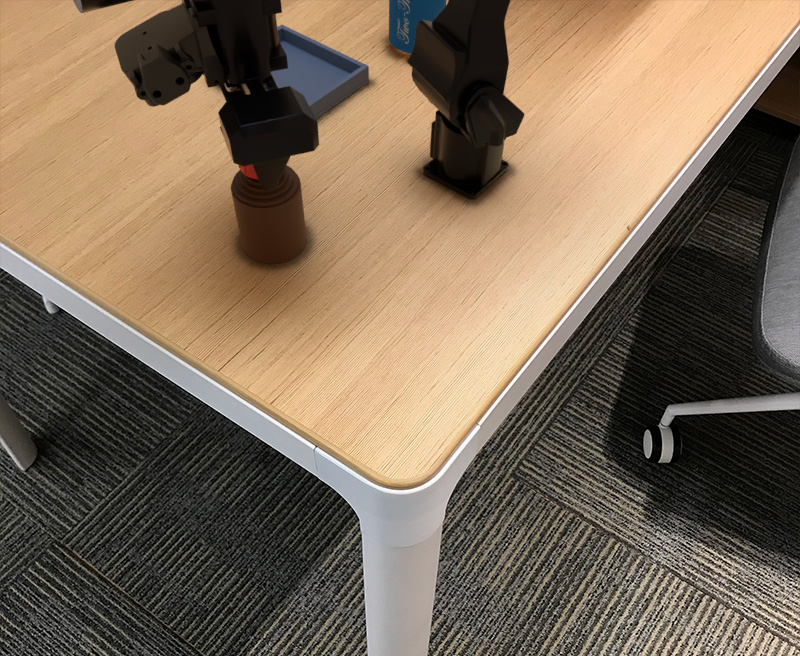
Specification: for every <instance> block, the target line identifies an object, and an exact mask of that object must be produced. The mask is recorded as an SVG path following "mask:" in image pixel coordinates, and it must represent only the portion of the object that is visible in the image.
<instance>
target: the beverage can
mask: <svg viewBox="0 0 800 656" xmlns="http://www.w3.org/2000/svg"><path fill="white" fill-rule="evenodd" d="M446 5H447V0H388V42H389V43H390V45H391V46H392V47H393V48H394V49H396V50H397V52H399V53H400V54H402V55H405V56H407V57H410V55H411V54H412V51H413V48H414V45H415V38H416V27H417V25H418V22H419V21H420V20H427V21H433V19H434V18H435V17H436V16H437V15H438V14H439V13H440V12H441V11H442V10H443V8H444V7H445V6H446Z"/></svg>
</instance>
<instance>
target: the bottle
mask: <svg viewBox="0 0 800 656" xmlns="http://www.w3.org/2000/svg"><path fill="white" fill-rule="evenodd" d="M302 191H303V190H302V182H301V179H300V176H299V175H298V173H297V172H296V171H295V170H294V169H293V168H292V167H291V166H290V165H288V164H287V165H286V167H285V170H284V172H283V174H282V176H281V178H280V180H279V183H278V185H277V187H276V188H275V189H273V190H268V191H263V190H262V187H261V185H260V182H259V180H258V179H253V178H250V177H248V176H246V175H244V174H243V173H242V171H241V170H240V169H238V171H237V172H236V173H235V175H234V177H233V178H232V181H231V184H230V192H231V196H232V201H233V208H234V213H235V218H236V223H237V228H238V232H239V233H238V234H239V237H240V242H241V247H242V250H243V251H244V253H245V254H246V255H247V256H248V257H249V258H251V259H252V260H254V261H256V262H258V263H263V264H270V265H272V264H274V265H275V264H281V263H285V262H288V261H289V262H290V260H293V259H295V258H296V257H297V256H299V255H300V254H301V253H302V252H303V251H304V249H305V248H306V245H307V240H308V239H307V229H306V220H305V211H304V202H303V201H304V200H303V192H302Z"/></svg>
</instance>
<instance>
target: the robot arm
mask: <svg viewBox="0 0 800 656" xmlns="http://www.w3.org/2000/svg"><path fill="white" fill-rule="evenodd" d="M133 1H135V0H72V2H73V3H74V5H75V7H76V9H77V11H78V12H79V13H80V14H85V13H89V12H93V11H98V10H102V9H105V8H109V7H114V6H118V5H122V4H125V3H129V2H133ZM510 4H511V0H448V1H447V2H446V6H445V7H444V8H443V10H442V11H441V12H440V13H439V14H438V15H437V16H436V17H435V18H434V19H433V21H427V20H420V21H419V22H418V25H417V27H416V38H415V45H414V48H413V51H412V54H411V55H410V56H408V57H409V58H408V59H407V61H406V63H407V64H408V65H409V67H411V78H412V82H413V83H414V85H415V86H416V88H417V89H418V90H419V92H420V93H421V94H422V95H423V96H424V97H425V98H426V99H427V100H428V102H429V103H431V104H432V105H433V106H434V107H435V108H436V109H437V110H436V112H435V118H434V120H433V121H432V122H431V125H430V126H431V127H430V128H431V129H430V141H429V142H430V143H429V158H430V159H431V160H430V161H429V162H427V163H426V164H425V165H424V166H423V167H422V173H423V174H424V175H425V176H427V177H429V178H430V179H432V180H435V181H436V182H439V183H440V184H442V185H444V186H446V187H448V188H449V189H452V190H454V191H456V192H458V193H460V194H461V195H463V196H465V197H467V198H469V199H476V198H477V197H478V196H479V195H481V194H482V193H483V192H484V191H485V190H486V189H487V188H489V186H491V185H492V184H493V183H494V182H495V181H496V180H497V179H499V178H500V177H501V176H502V175H504V173H505V172H506V171H508V170H509V167H510V163H509V162H508V161H507V160H504V159H503V156H504V155H503V154H504V148H505V141H506V140H507V138H509V137H512V136H515V135H517V133H518V131H519V129H520V127H521V124H522V122H523V120H524V118H525V112H524V111H523V110H521V109H520V108H519V107H518V106H517V105H516V104H515V103H514V102H513V101H512V100H510V98H509V97H508V96H506V94H504V93H505V89H506V83H507V78H508V73H509V65H510V58H509V50H508V42H507V33H506V25H505V24H506V23H505V22H506V18H507V14H508V10H509V6H510ZM282 13H283V9H282V0H181V3H180V4H178V5H177V6H174V7H172V8H170V9H168V10H163V11H160V12H159V13H156V14H155V15H153V16H151V17H149V18H148V19H146V20H144V21H143V22H141V23H139V24H138V25H135V26H134V27H132V28H131V29H128V30H127V31H125V32H124V33H122V34H120V36H119V37H117V39H116V40H115V42H114V51H115V53H116V56H117V60H118V63H119V66H120V69H121V71H122V73H123V74H124V75H125V77H126V78H127V79H128V81H129V82H130V83H131V85H132V86H133V88H134V91H135V94H136V97H137V98H138V99H139V100H140V101H144V102H145V103H146V105H147V106H149V107H152V108H153V107H158V106H166V105H168V104H170V103H172V102H173V101H176V99H178V98H180V97H182V96H184V95H186V94H188V93H189V92H190V90H191V87H192V85H193V84H194V83H196V82H197V81H198V80H199V79H200V78H201V77H202V76H203V77H204V82H205V84H206V86H207V88H214V87H219V88H220V90H221V93H222V95H223V97H224V100H225V102H224V104H223V105H222V107H221V108H220V109H219V110H218V112H217V115H218V119H219V124H220V126H219V129H220V131H221V134H222V136H223V140H224V142H225V145H226V147H227V150H228V153H229V155H230V157H231V160H232V163H233V164H235V165H238V166H239V165H241V166H247V165H253V168H254V170H255V173H256V175H257V177H258V180H259V182H260V185H261V187H262V190H263V191H268V190H273V189H275V188H276V187H277V185H278V183H279V180H280V178H281V176H282V174H283V172H284V170H285V167H286V165H288V163H289V161H290V159H291V157H292V156H297V155H302V154H307V153H311V152H315V151H316V149H317V148H318V147H319V146H320V136H319V125H318V124H319V123H318V120H317V118H315V116H314V114H313V112H312V111H311V109H310V107H309V105H308V103H307V101H306V99H305V97H304V95H303V94H301V93H300V92H298V91H297V90H295V89H294V88H292V87H291V86H287V87H282V88H278V86H277V84H276V82H275V80H274V78H273V76H272V74H271V72H272V71H277V70H282V69H287V68H288V63H287V55H286V53H285V51H284V49H283V47H282V45H281V43H280V41H279V38H278V29H277V27H278V20H277V14H282Z"/></svg>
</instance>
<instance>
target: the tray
mask: <svg viewBox="0 0 800 656" xmlns="http://www.w3.org/2000/svg"><path fill="white" fill-rule="evenodd" d="M277 29H278V38H279V41H280V43H281V45H282V47H283V49H284V51H285V53H286V55H287V63H288V68H287V69H282V70H277V71H272V72H271V74H272V76H273V78H274V80H275V82H276V84H277V86H278V88H282V87H287V86H291V87H292V88H294V89H295V90H297V91H298V92H300V93H301V94H303V95H304V97H305V99H306V101H307V103H308V105H309V107H310V109H311V111H312V112H313V114H314V116H315V118H316V119H318V118H319V117H321V116H323V115H324V114H325V113H327V112H328V111H330V110H331V109H333V108H334V107H335V106H337V105H339V104H340V103H341V102H343V101H344V100H345V99H347V98H349V97H350V96H351V95H353V94H354V93H356V92H358V91H359V90H360V89H361V88H362V87H364V86H366V85H367V84H369V82H370V68H369V65H367V64H366V63H363V62H362V61H359V60H358V59H355V58H352V57H351V56H349V55H347V54H345V53H343V52H340V51H338V50H336V49H334V48H332V47H330V46H328V45H326V44H324V43H322V42H320V41H318V40H316V39H314V38H311V37H309V36H307V35H305V34H303V33H301V32H299V31H297V30H294V29H292V28H290V27H288V26H286V25H284V24H280V25H277Z"/></svg>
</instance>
